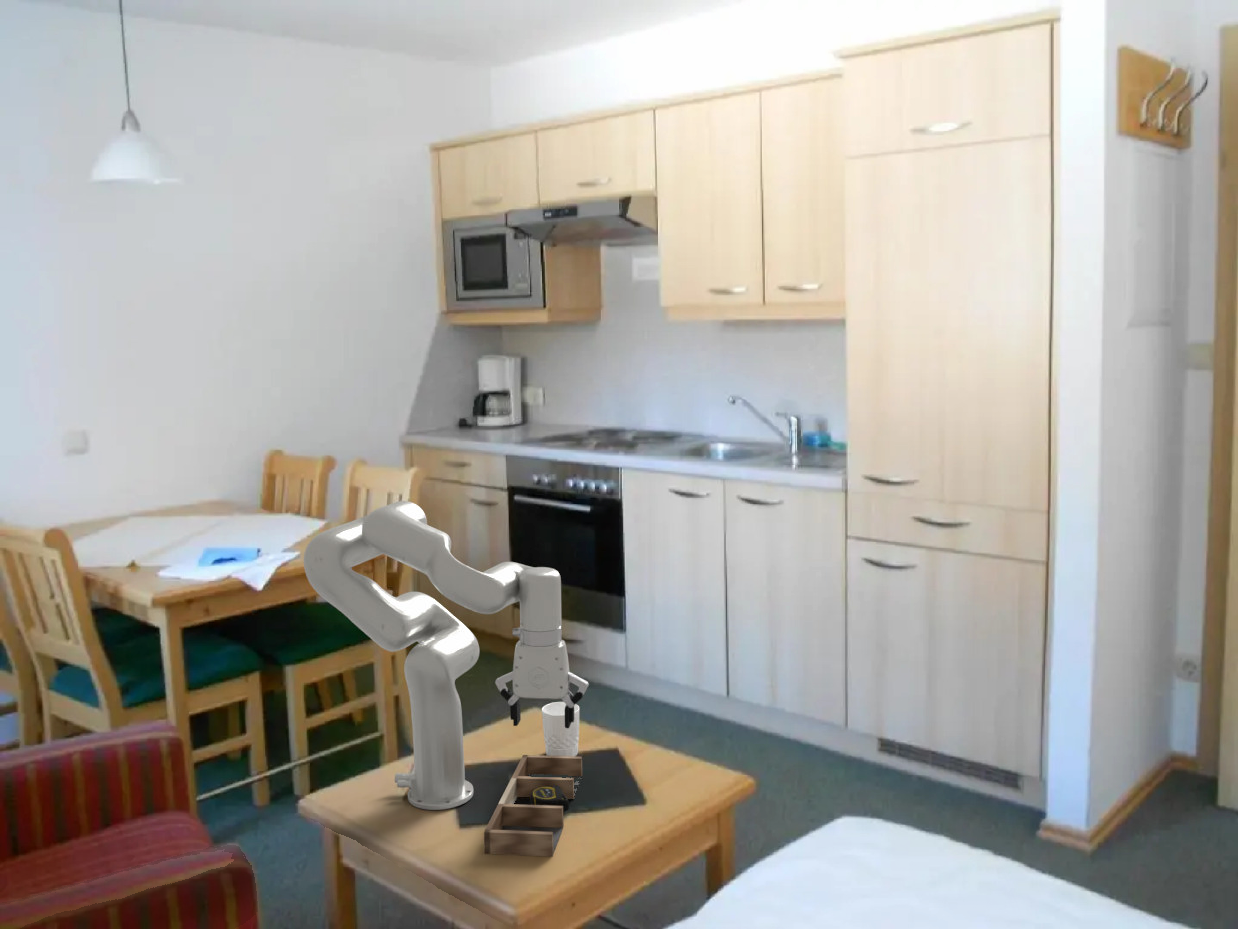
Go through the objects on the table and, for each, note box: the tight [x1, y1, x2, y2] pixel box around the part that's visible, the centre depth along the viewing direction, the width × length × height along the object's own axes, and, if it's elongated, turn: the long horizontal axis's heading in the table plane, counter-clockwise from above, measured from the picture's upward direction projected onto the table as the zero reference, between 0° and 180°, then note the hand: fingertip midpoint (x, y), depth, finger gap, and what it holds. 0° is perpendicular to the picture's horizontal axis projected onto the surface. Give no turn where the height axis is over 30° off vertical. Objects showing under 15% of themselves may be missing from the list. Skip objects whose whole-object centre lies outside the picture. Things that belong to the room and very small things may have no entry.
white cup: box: [541, 701, 580, 756], centre depth 240 cm, size 8×8×10 cm
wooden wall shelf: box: [483, 754, 583, 857], centre depth 214 cm, size 12×33×4 cm, turn 173°
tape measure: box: [529, 786, 570, 813], centre depth 214 cm, size 7×7×4 cm
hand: (542, 724), depth 211 cm, fingers open, 9 cm apart
